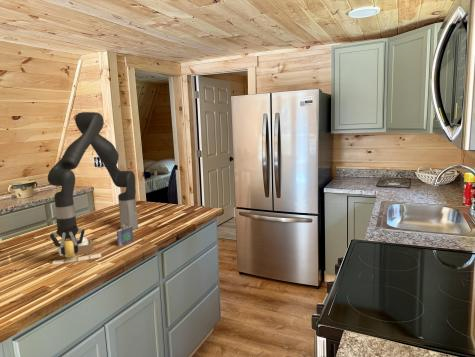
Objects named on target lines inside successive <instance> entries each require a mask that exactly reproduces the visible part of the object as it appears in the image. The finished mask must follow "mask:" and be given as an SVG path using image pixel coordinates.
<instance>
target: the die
mask: <svg viewBox="0 0 475 357" xmlns="http://www.w3.org/2000/svg"><path fill="white" fill-rule="evenodd" d="M57 249H58V250H57V251H58V255H59V256H60V257H61V256H63V254H61V248H60V247H57Z"/></svg>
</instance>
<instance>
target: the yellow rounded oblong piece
mask: <svg viewBox="0 0 475 357" xmlns="http://www.w3.org/2000/svg"><path fill="white" fill-rule="evenodd" d="M64 250H65V255H64V257H65V258H74V257H76V256H75V251H74V243H73V241H72V239H66V240H65V241H64Z"/></svg>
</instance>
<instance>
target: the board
mask: <svg viewBox="0 0 475 357" xmlns="http://www.w3.org/2000/svg"><path fill="white" fill-rule="evenodd" d="M87 240H88V243H89V245H83V246H78V252H77V254H75V256H74V257H68V258H66V259H64V258H63V259H57V260H52V263H51V266H53V265H60V264H64V263H66V264H67V263H72V262H76V261H79V262H80V261H85V260H89V259H91V260H93V259H98V258H102V253H95V254H93V252H94V250H93V249H94V245H93V244H94V243H93V239H87ZM88 254H91V255H88ZM82 255H84V256H82ZM76 256H78V257H76Z"/></svg>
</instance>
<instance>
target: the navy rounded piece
mask: <svg viewBox="0 0 475 357" xmlns="http://www.w3.org/2000/svg"><path fill="white" fill-rule="evenodd" d="M121 226H122V229H121V228H120V229H118V230H116V240H117V247H122V246H124V245H126V244H128V243H131V242H133V241H134V239H133V238H134V234H133V230H132V226H125V225H124V224H123V225H121V224H120V227H121Z"/></svg>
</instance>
